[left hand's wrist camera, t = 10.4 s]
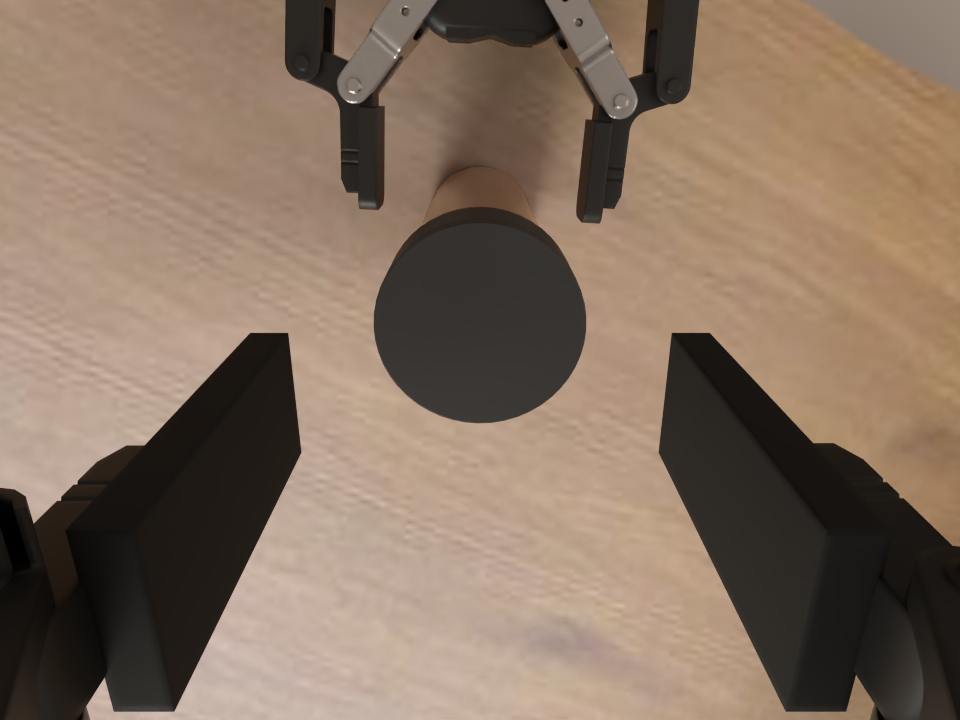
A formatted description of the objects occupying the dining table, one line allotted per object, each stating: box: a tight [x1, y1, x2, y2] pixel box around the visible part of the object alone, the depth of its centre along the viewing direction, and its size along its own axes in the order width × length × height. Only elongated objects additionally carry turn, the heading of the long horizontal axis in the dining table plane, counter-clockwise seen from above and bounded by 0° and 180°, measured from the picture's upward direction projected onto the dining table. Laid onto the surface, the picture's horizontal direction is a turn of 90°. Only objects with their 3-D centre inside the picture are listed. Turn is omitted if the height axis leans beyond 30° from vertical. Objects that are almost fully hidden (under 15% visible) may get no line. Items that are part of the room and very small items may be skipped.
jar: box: [422, 167, 538, 226], centre depth 26 cm, size 5×5×16 cm
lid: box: [374, 207, 586, 423], centre depth 19 cm, size 6×6×2 cm
